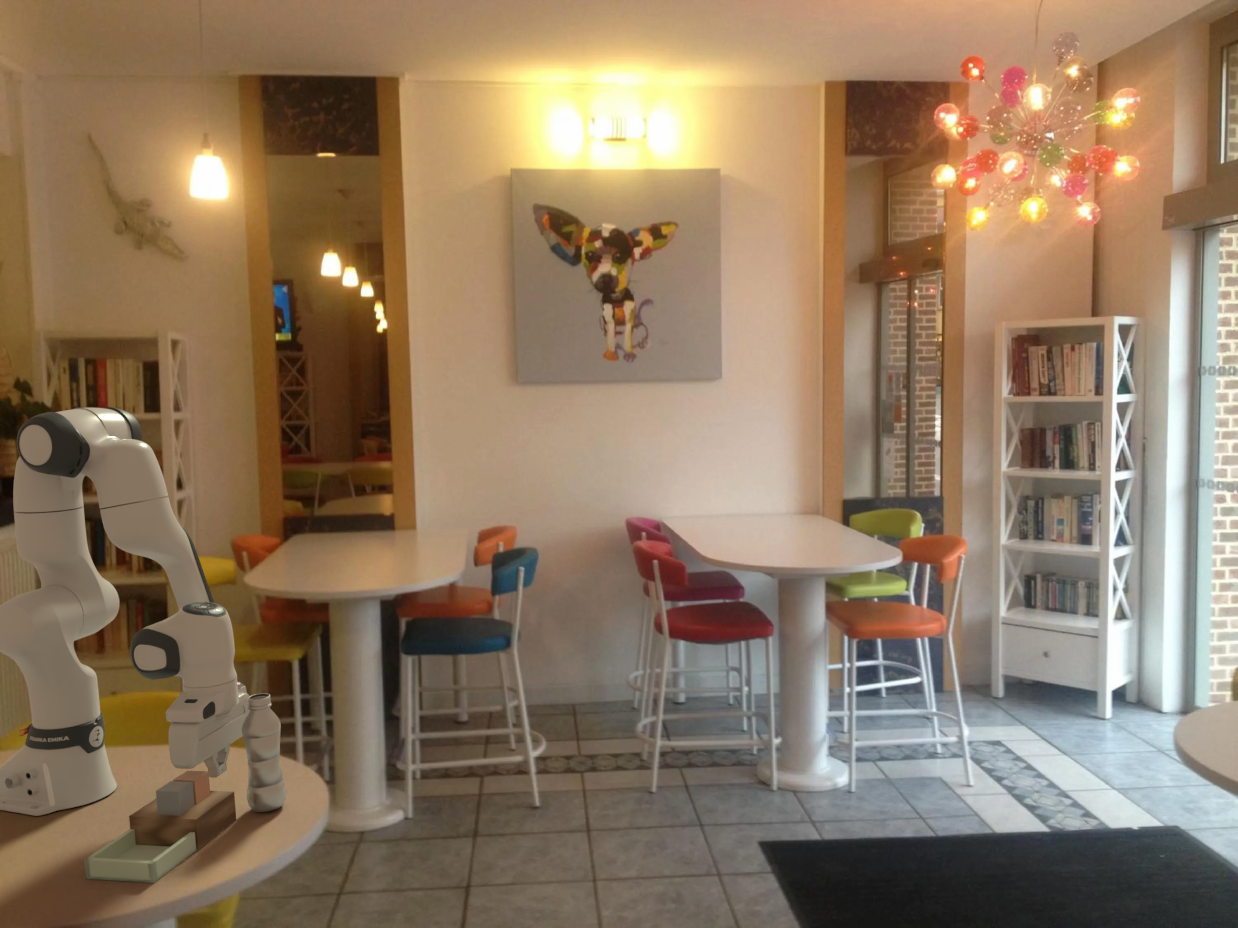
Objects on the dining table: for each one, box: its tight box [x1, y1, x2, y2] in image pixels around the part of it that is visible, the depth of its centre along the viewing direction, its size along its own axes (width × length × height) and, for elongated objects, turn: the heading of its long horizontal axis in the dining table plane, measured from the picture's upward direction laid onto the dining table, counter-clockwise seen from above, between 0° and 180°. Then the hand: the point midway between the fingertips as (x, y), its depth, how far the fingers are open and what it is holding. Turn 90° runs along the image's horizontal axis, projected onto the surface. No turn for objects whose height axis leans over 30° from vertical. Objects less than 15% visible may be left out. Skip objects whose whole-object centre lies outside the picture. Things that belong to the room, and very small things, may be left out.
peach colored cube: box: [172, 770, 211, 804], centre depth 177 cm, size 4×4×4 cm
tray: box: [84, 828, 197, 884], centre depth 165 cm, size 12×11×3 cm
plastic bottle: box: [242, 692, 287, 813], centre depth 184 cm, size 6×7×20 cm
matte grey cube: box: [155, 780, 195, 816], centre depth 173 cm, size 4×4×4 cm
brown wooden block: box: [128, 790, 237, 851], centre depth 176 cm, size 12×11×5 cm
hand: (217, 774), depth 185 cm, fingers closed
